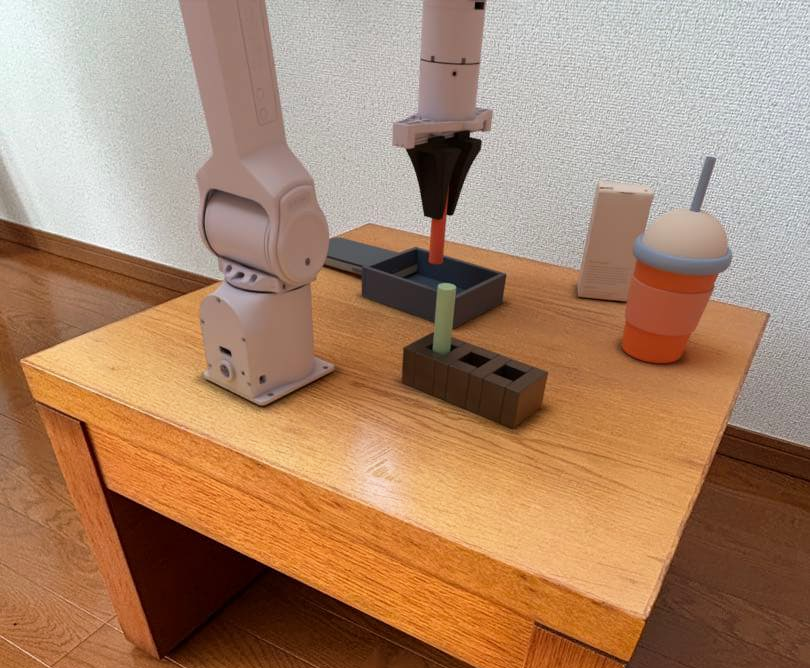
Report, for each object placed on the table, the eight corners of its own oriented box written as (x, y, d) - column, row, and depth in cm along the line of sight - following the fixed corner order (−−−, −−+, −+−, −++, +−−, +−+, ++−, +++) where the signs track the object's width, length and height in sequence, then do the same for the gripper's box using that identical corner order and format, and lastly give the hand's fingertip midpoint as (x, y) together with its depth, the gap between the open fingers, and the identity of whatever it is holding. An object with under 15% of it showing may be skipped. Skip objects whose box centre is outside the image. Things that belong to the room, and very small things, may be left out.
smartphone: (337, 235, 89) (426, 258, 82) (337, 248, 90) (425, 272, 83) (297, 247, 84) (389, 273, 77) (298, 261, 85) (388, 287, 79)
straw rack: (541, 407, 59) (548, 371, 57) (513, 429, 56) (519, 392, 54) (432, 364, 64) (435, 330, 62) (401, 382, 61) (403, 347, 59)
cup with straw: (700, 376, 65) (777, 174, 53) (608, 364, 66) (662, 163, 54) (689, 338, 72) (755, 152, 60) (605, 328, 73) (653, 142, 61)
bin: (502, 302, 77) (506, 273, 75) (453, 329, 71) (456, 297, 69) (413, 274, 83) (415, 246, 81) (361, 296, 77) (361, 266, 74)
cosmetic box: (623, 290, 82) (652, 183, 74) (627, 304, 79) (657, 193, 71) (574, 285, 83) (597, 178, 75) (575, 298, 79) (599, 188, 71)
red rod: (437, 265, 73) (444, 176, 67) (425, 262, 74) (431, 173, 68) (445, 262, 74) (453, 173, 68) (434, 258, 75) (440, 170, 69)
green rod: (440, 387, 61) (449, 291, 55) (426, 382, 62) (433, 286, 56) (450, 381, 62) (459, 286, 56) (436, 376, 63) (444, 281, 57)
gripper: (439, 70, 56) (428, 238, 65) (525, 61, 65) (504, 210, 74) (376, 61, 59) (374, 222, 68) (465, 53, 68) (453, 197, 77)
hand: (438, 215), depth 71 cm, fingers closed on red rod, 1 cm apart
